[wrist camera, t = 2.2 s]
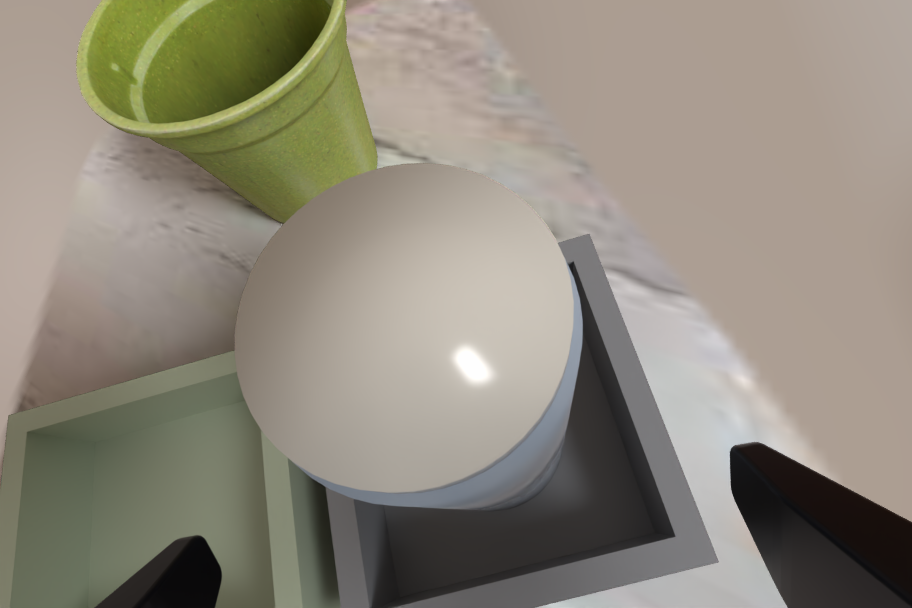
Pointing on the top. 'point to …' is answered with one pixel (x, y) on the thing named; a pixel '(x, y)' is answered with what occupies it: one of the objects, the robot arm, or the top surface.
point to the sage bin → (158, 495)
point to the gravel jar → (414, 340)
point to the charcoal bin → (544, 500)
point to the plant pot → (234, 90)
